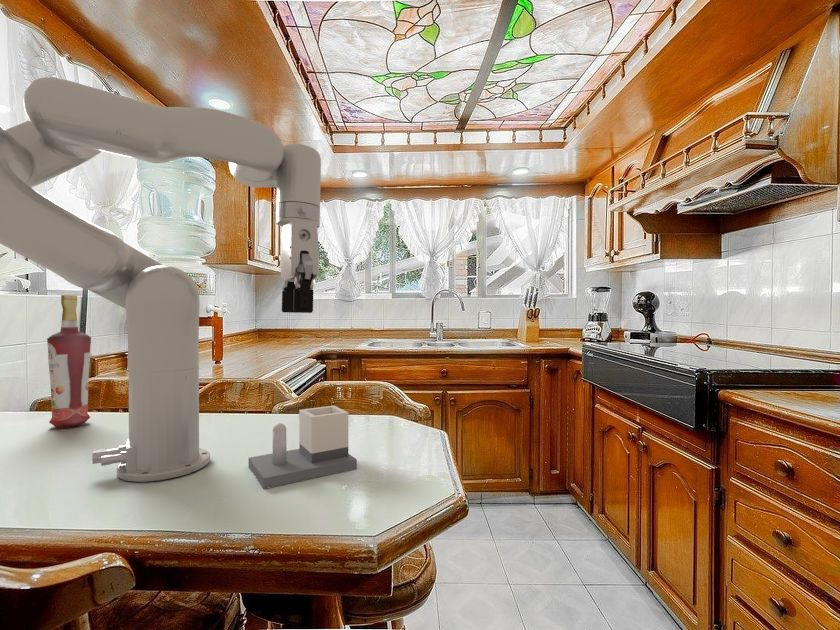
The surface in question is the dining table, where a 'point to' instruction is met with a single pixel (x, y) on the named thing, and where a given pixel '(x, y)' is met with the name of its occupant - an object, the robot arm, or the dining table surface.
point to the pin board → (293, 464)
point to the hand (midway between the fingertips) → (296, 312)
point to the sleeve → (323, 433)
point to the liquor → (69, 369)
